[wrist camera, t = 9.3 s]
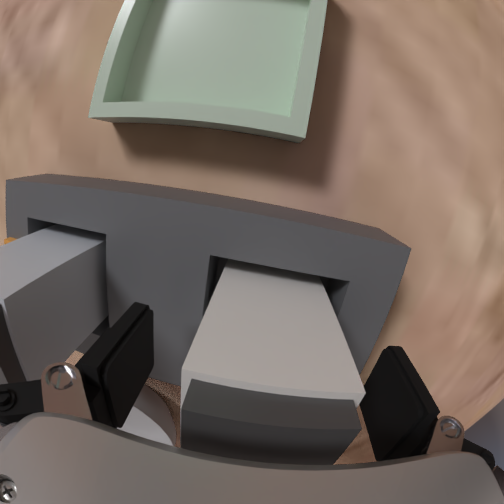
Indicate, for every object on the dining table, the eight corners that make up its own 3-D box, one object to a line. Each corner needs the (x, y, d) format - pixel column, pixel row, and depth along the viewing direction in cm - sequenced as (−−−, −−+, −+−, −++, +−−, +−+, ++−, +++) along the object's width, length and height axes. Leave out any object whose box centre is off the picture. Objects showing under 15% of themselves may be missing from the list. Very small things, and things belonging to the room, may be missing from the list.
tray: (324, -10, 10) (331, -32, 8) (299, 143, 13) (305, 138, 11) (156, -18, 10) (143, -36, 8) (111, 122, 13) (88, 117, 11)
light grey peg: (122, 232, 14) (-17, 312, 5) (122, 301, 16) (24, 409, 6) (66, 220, 14) (-61, 276, 5) (69, 284, 16) (-31, 363, 6)
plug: (315, 268, 14) (375, 422, 5) (295, 338, 16) (311, 494, 6) (231, 252, 14) (169, 398, 5) (219, 324, 16) (174, 478, 6)
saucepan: (179, 447, 22) (170, 475, 18) (40, 383, 22) (23, 402, 18) (189, 385, 19) (176, 421, 15) (20, 310, 19) (-5, 328, 15)
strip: (379, 228, 14) (417, 252, 10) (330, 367, 17) (342, 416, 13) (46, 173, 15) (-1, 181, 10) (51, 300, 18) (16, 327, 13)
